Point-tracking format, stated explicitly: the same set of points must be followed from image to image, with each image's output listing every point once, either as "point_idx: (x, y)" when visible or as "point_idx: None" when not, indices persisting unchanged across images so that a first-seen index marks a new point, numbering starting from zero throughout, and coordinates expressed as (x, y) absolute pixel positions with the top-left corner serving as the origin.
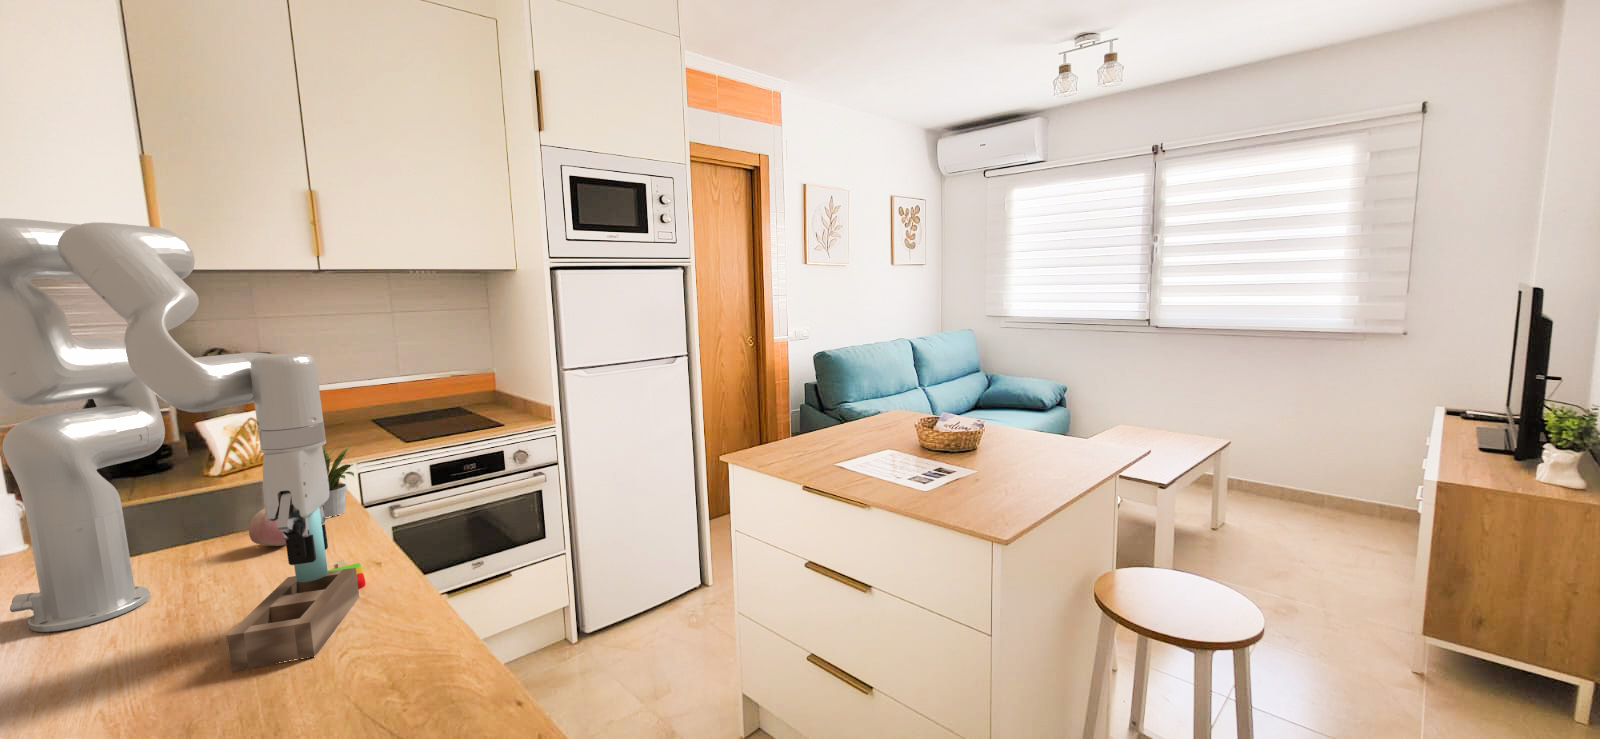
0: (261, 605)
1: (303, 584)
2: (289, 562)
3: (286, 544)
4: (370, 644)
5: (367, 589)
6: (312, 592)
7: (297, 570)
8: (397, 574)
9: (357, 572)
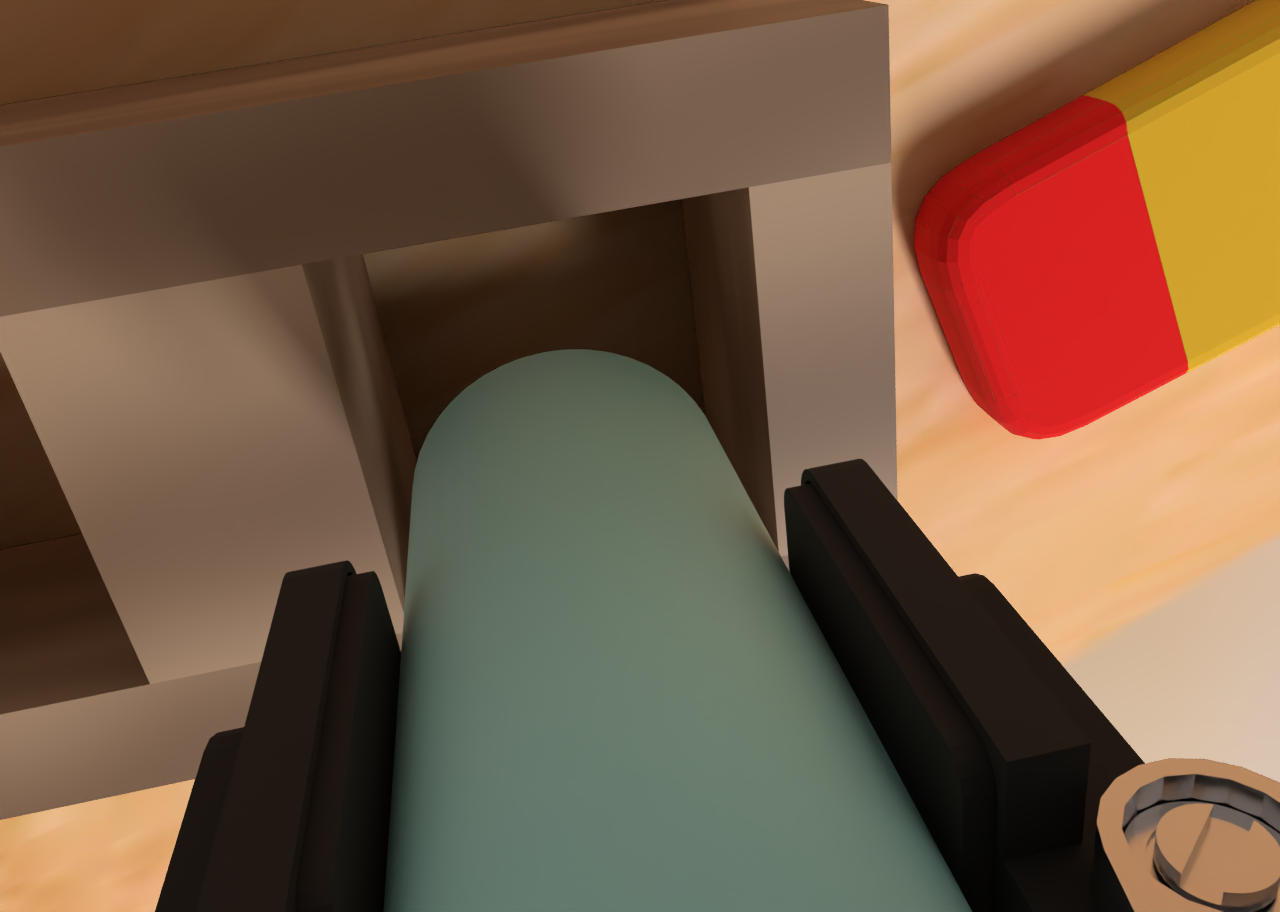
0: (27, 187)
1: (737, 227)
2: (282, 595)
3: (224, 834)
4: (47, 882)
5: (940, 467)
6: (348, 553)
7: (421, 514)
8: (1146, 553)
9: (1217, 327)
